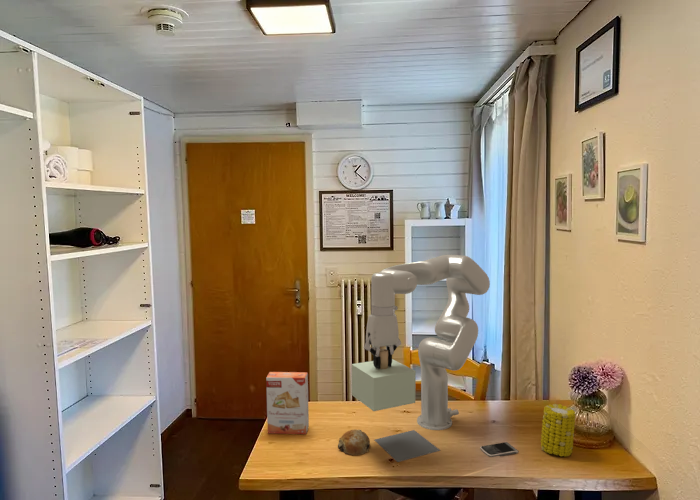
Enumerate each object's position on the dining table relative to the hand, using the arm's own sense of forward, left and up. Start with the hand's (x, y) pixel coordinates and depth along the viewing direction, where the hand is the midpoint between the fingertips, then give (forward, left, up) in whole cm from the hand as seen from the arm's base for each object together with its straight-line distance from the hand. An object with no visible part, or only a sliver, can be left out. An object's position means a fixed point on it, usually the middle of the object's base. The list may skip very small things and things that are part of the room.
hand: (382, 366), depth 154 cm
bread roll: (+9, -4, -28) cm, 30 cm away
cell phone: (-32, +18, -28) cm, 47 cm away
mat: (-7, +2, -28) cm, 29 cm away
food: (-49, +26, -28) cm, 62 cm away
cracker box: (+25, -26, -28) cm, 45 cm away
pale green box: (0, 0, -11) cm, 11 cm away
